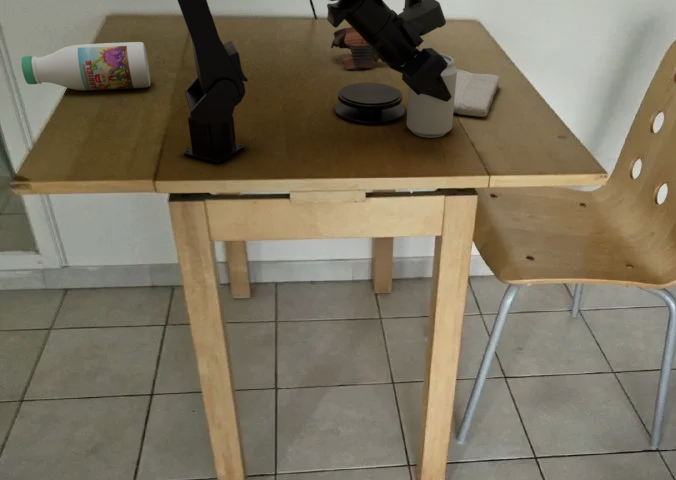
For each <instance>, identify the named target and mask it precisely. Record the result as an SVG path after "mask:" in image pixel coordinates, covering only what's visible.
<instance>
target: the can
mask: <svg viewBox="0 0 676 480" xmlns="http://www.w3.org/2000/svg"><path fill="white" fill-rule="evenodd" d="M438 53H439V54H440V55H441V56H442V57H443V58H444V59H445V61H446V62H447V63H448V65H447V68H446V69H445V70H444V71H443V72H442V73H441V76H442V78H443V80H444V82H445V84H446V86H447V88H448V90H449V92H450V94H451V96H452V97H451V99H450V100H449V101H448V102H446V101H443V100H440V99H437V98H434V97H431V96H428V95H425V94H420V95H417V94H416V93H415V92H414V91H413V90H412V89H411V88H410V87H409V86H408V91H407V93H408V94H407V109H406V110H407V111H406V127H407V128H408V130H410V131H411V133H412V134H414V135H416V136H418V137H422V138H429V139H432V138H433V139H435V138H439V137H443V136H445V135H446V134H447V133H449V132H450V131H451V130H452V128H453V119H454V113H453V110H454V99H455V89H456V78H457V70H458V68H457V67H456V65H455V64H454V63H455V59H454V58H453V57H452V56H451V55H447V54H444V53H440V52H438ZM415 57H416V56H415Z"/></svg>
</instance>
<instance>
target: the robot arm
mask: <svg viewBox="0 0 676 480" xmlns="http://www.w3.org/2000/svg"><path fill="white" fill-rule="evenodd" d="M329 1H330V3H329V2H328V3H327V4H326V7H327V16H326V20H327V21H328V23H329V24H330V25H331V26H332V27H334V28H336V29H337V28H338V27H339V26H340V25H341V24H342V23H343V22H344V20H345V21H346V22H347V24H349V26H350V27H353V28H354V29H355V30H356V32H357V33H358V34H359V35H360V36H361V37H362V38H363V39H364V40H365V41H366V42H367V43H368V44H369V45H370V46H371V47H372V51H373V52H374V53H375V54H376V55H377V56H378V57H379V59H380V61H381V62H383V63H384V64H385V65H387V67H388V68H390V69H392V71H393V70H394V71H395V72H398V73H400V74H401V81H403V82H404V84H406V85H407V86H408V88H409V87H410V88H411V89H412V90H413V91H414V92H415V93H416V94H417V95H420V94H425V95H428V96H431V97H434V98H437V99H440V100H443V101H446V102H448V101H449V100H450V99H451V97H452V96H451V94H450V92H449V90H448V88H447V86H446V84H445V82H444V80H443V78H442V76H441V73H442V72H443V71H444V70H445V69H446V68H447V65H448V63H447V62H446V61H445V59H444V58H443V57H442V56H441V55H440V54H441V53H440V52H437V51H436V50H435V49H434V48H432V47H423V48H422V49H421V50H420V49H418V48H419V47H420V46H421V45H422V44H423V43H424V39H423V38H422V37H423V36H426V35H427V34H429V33H431V32H433V31H435V30H437V29H438V28H439V29H441V28H443V27H444V26H445V25H446V24H447V20H446V18H445V14H444V11H443V9H442V6H441V3H440V2H439V1H437V0H404V7H403V8H402V11H401V12H400V13H397V12H396V11H395V10H393V9H392V8H390V7H389V6H388V5H387V4H386V2H385V1H384V0H329ZM335 1H337V2H335ZM331 2H333V3H331ZM177 3H178V6H179V9H180V11H181V15H182V17H183V19H184V20H183V21H184V22H185V25H186V28H187V30H188V33H189V35H190V38H191V44H192V51H193V59H194V63H195V70H196V75H197V76H196V77H195V79H194V80H193V81H192V82H191V84H190V85H189V86H187V88H186V89H185V90H184V94H185V95H184V96H185V99H186V101H187V105H188V107H189V116H187V124H188V130H189V137H190V138H189V139H190V146H191V147H189V148H188V149H185V150H184V151H183V156H185V157H188V158H193V159H196V160H200V161H204V162H209V163H212V164H217V165H220V164H223V163H224V162H226V161H227V160H228V159H231V158H232V157H233V156H235V155H237V154H238V153H240V152H241V151H243V150H244V149H245V147H244V144H240V143H236V133H235V132H236V131H235V120H234V116H233V114H234V111H235V108H236V106H238V105H239V104H240V103H241V102H242V100H243V98H244V97H245V95H246V86H245V83H246V82H248V81H249V79H248V77H247V75H246V73H245V71H244V70H243V67H242V64H241V57H240V53H239V51H238V50H237V47H236V45H235V44H234V42H233V41H232V40H229V41H228V42H225V43H223V41H222V40H221V38H220V36H219V33H218V30H217V27H216V23H215V20H214V18H213V15H212V12H211V9H210V6H209V3H208V0H177ZM439 53H440V54H439ZM415 56H416V57H415ZM244 82H245V83H244Z"/></svg>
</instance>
